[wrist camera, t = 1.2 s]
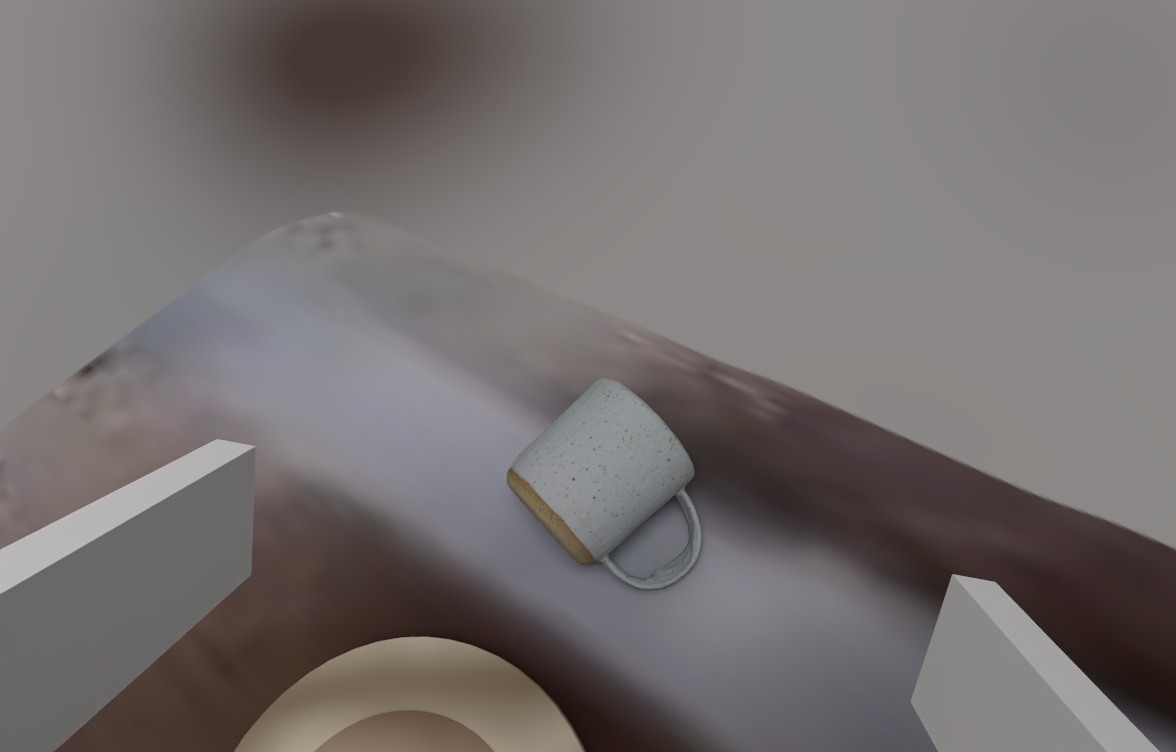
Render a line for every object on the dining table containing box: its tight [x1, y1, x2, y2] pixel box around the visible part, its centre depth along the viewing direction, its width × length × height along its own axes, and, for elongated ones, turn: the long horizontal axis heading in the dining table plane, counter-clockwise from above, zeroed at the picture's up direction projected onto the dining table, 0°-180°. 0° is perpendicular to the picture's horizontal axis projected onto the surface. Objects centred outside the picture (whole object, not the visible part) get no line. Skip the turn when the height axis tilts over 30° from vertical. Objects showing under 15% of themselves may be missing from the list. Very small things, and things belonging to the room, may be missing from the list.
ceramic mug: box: [507, 377, 702, 589], centre depth 35 cm, size 11×8×8 cm
